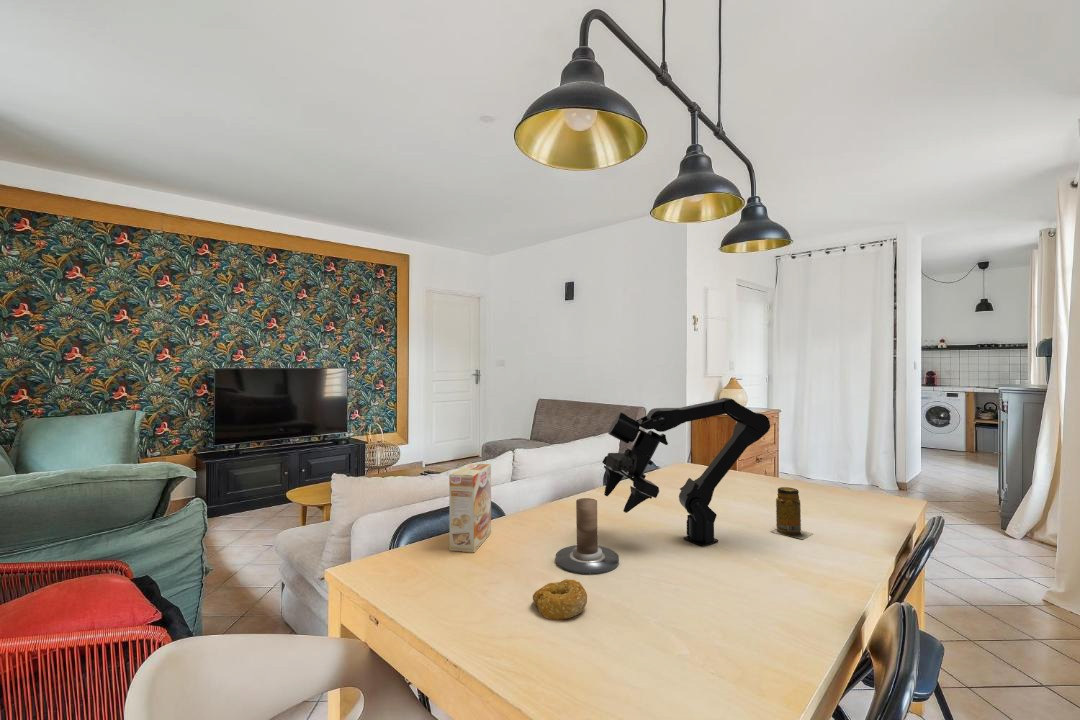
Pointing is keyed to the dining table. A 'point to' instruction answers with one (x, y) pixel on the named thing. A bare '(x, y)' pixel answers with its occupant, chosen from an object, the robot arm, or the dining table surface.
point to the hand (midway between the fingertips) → (615, 503)
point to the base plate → (587, 562)
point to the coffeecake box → (470, 507)
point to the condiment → (789, 513)
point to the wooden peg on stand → (587, 531)
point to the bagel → (561, 599)
